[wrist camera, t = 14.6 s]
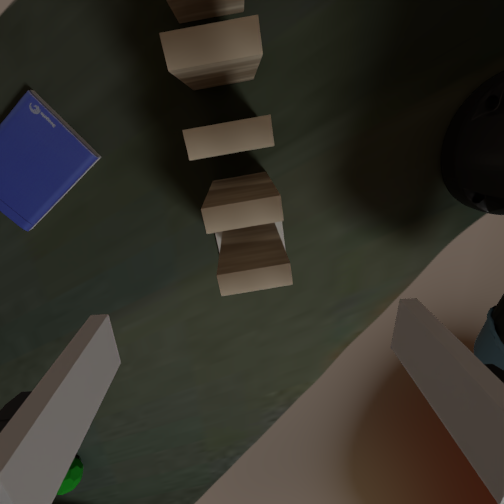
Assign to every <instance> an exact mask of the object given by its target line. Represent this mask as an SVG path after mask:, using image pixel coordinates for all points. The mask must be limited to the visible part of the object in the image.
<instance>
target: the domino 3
mask: <svg viewBox="0 0 504 504" xmlns="http://www.w3.org/2000/svg"><path fill="white" fill-rule="evenodd" d="M182 131H183V136H184V140H185V144H186V148H187V152H188V157H189V161H191V160H196V159H202V158H208V157H214V156H219V155H225V154H231V153H236V152H242V151H248V150H253V149H259V148H265V147H271V146H274V139H273V131H272V123H271V115H265V116H259V117H254V118H248V119H242V120H237V121H231V122H226V123H220V124H214V125H209V126H203V127H197V128H192V129H186V130H182Z"/></svg>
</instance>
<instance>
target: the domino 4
mask: <svg viewBox="0 0 504 504" xmlns="http://www.w3.org/2000/svg"><path fill="white" fill-rule="evenodd" d="M201 211H202V216H203V220H204V224H205V228H206V233H207V234H209V233H215V232H221V231H227V230H233V229H239V228H244V227H250V226H256V225H262V224H268V223H274V222H280V221H284V219H283V211H282V203H281V195H280V194H279V192H278V190H277V189H276V187H275V185H274V184H273V182H272V180H271V179H270V177H269V176H268V174H267V172H261V173H255V174H249V175H243V176H238V177H232V178H226V179H220V180H215V181H213V182H212V184H211V186H210V189H209V191H208V193H207V196H206V198H205V201H204V203H203V205H202V208H201Z"/></svg>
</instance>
